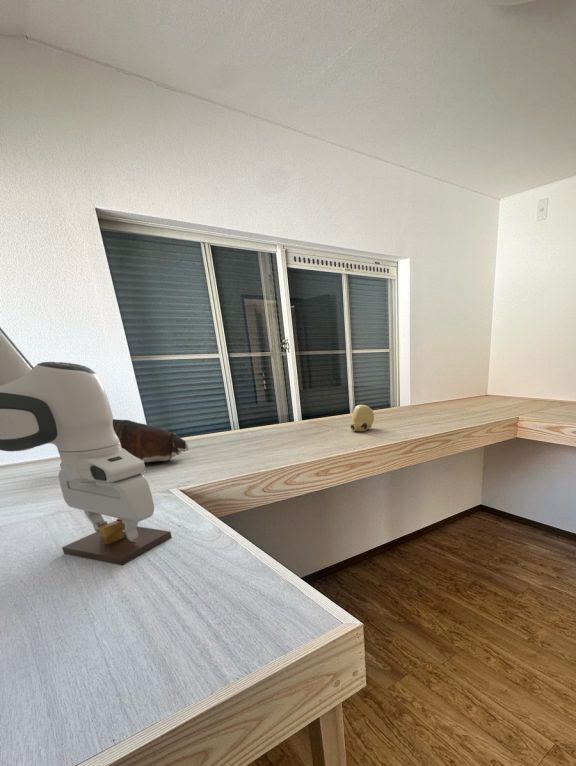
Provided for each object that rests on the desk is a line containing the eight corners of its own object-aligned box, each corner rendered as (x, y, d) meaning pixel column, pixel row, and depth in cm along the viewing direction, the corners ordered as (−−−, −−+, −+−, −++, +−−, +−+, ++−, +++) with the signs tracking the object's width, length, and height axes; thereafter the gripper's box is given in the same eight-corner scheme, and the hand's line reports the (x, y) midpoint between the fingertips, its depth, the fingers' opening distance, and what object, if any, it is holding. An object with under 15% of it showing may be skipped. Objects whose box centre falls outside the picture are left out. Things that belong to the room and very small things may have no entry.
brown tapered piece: (186, 427, 129) (92, 417, 121) (185, 476, 132) (93, 469, 124) (192, 425, 143) (107, 416, 134) (191, 469, 146) (108, 463, 138)
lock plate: (66, 562, 75) (61, 546, 74) (119, 536, 85) (115, 522, 84) (125, 573, 71) (120, 557, 70) (174, 545, 81) (170, 530, 79)
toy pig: (352, 437, 181) (343, 424, 171) (358, 413, 184) (349, 399, 175) (373, 438, 177) (365, 425, 168) (379, 413, 181) (371, 399, 171)
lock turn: (108, 544, 75) (102, 527, 73) (103, 543, 75) (97, 526, 74) (131, 534, 78) (127, 517, 77) (127, 533, 79) (122, 516, 78)
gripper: (39, 460, 73) (64, 532, 78) (115, 473, 64) (137, 552, 70) (76, 452, 78) (98, 519, 83) (151, 463, 70) (169, 536, 75)
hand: (116, 534), depth 76 cm, fingers open, 7 cm apart
